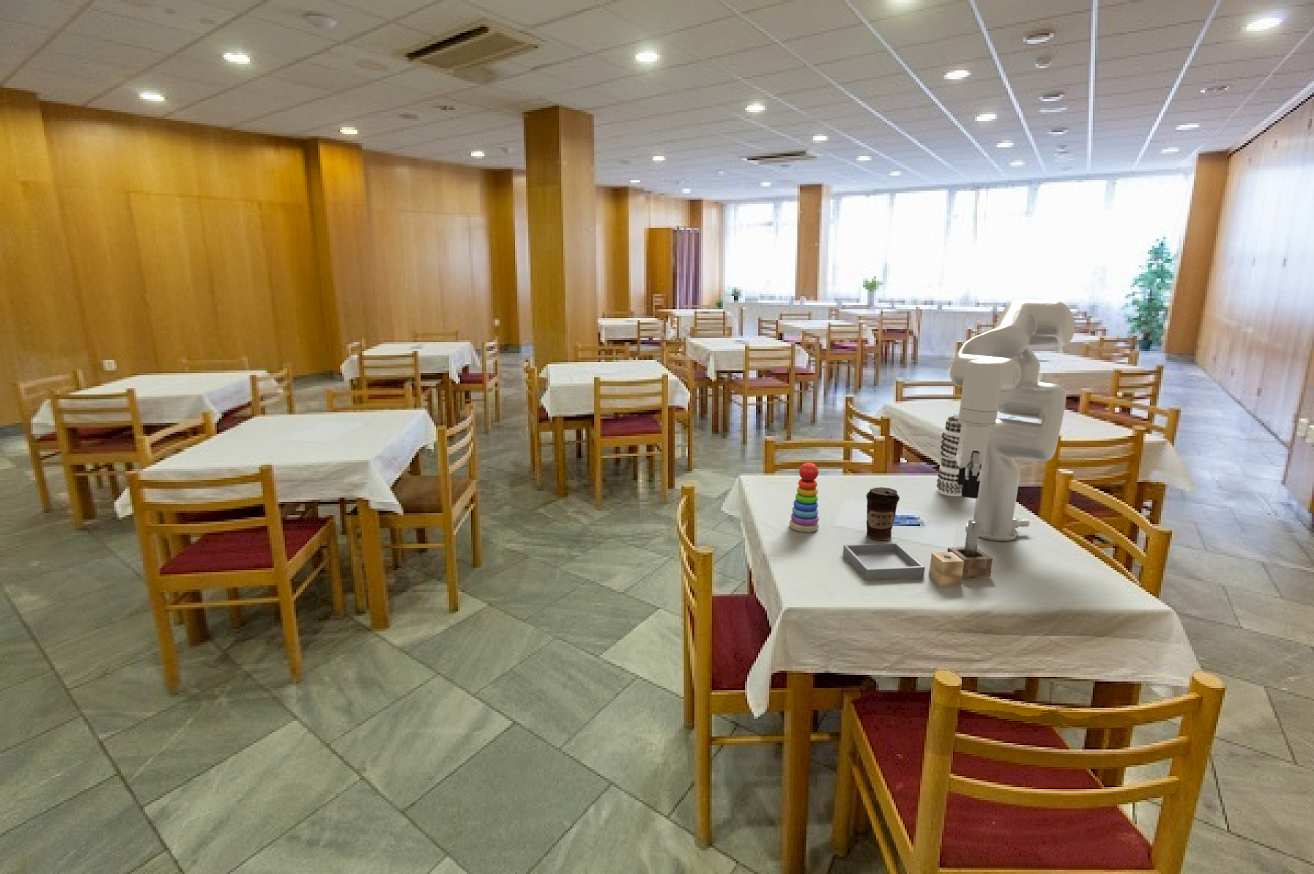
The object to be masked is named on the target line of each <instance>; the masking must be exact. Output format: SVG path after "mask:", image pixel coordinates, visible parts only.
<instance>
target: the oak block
mask: <svg viewBox="0 0 1314 874" xmlns="http://www.w3.org/2000/svg"><path fill="white" fill-rule="evenodd" d="M963 565H964V561H963V560H962V559H960V558H959V557H958V556H957V555H955V554H954V553H953V552H947V551H946V552H943V551H942V552H931V556H930V564H929V571H928V577H929V578H930V579H931V580H933V582H935V584H937V585H938V587H952V586H953V587H954V586H956V587H957V586H961V585H962V580H963V579H962V573H963Z"/></svg>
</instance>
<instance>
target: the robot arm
mask: <svg viewBox="0 0 1314 874" xmlns="http://www.w3.org/2000/svg"><path fill="white" fill-rule="evenodd" d="M1075 329H1076V323H1075V318H1074V315H1073V314H1072V312H1071V309H1070V308H1069V306H1068V305H1067V304H1065V303H1063V302H1062V301H1057V300H1041V299H1040V300H1037V299H1018V300H1014V301H1011V302H1010V303H1008V304H1007V305H1006V306H1005V307H1004V309H1003V310H1002V312H1001V314H1000V315H999V317H998V319H997V320H996V323H995V325H994V327H993V329H990V330H989V331H985V332H983V333H981V334H978V335H976V336H973V337H972V338H970V339H968V340H967V341H965V342H964V343H963V344H962V345H961V347H960V348H959V350H958V351H957V353H956V355H955V357H954V359H953V361H952V363H951V366H950V369H949V378H950V380H951V382H952V383H953V384H954V386H957V387H960V388H961V399H960V406H959V410H958V411H959V413H958V415H959V418H958V422H960V423H962V426H961V431H960V437H959V443H958V449H957V454H956V461H957V464H958V466H959V467H960V468H959V475H958V482H957V483H958V485H963V488H962V496H961V497H963V498H968V499H975V504H974V512H973V518H972V520H976V521H979V522H980V523H981V524H980V531H979V538H981V539H985V540H990V541H996V542H1007V541H1008V542H1010V541H1013V540H1015V539H1017V538H1018V531H1017V529H1018V528H1019V527H1020V528H1024V527H1025V528H1027V527H1029V526H1030V521H1029V520H1028V519H1019V517H1017V516H1015V517H1014V515H1015V509H1016V503H1017V497H1018V489H1019V483H1020V477H1021V474H1020V473H1021V472H1020V469H1019V467H1018V465H1017V463H1016V461H1015V460H1014V458H1018V459H1019V458H1020V459H1025V460H1031V461H1037V462H1047V461H1050V460H1051V459H1052V458H1053V457H1054V455H1055V453H1056V451H1057V445H1058V442H1059V437H1060V432H1061V428H1062V424H1063V419H1064V415H1065V410H1066V409H1065V408H1066V404H1067V395H1066V390H1065V389H1064V388H1063V387H1062V386H1061V385H1059V384H1057V383H1056V384H1055V383H1049V382H1048V383H1047V382H1041V381H1038V378H1039V372H1040V369H1041V365H1040V360H1039V359H1038V357H1037V356H1036V354H1035V353H1034V352H1033V351H1032V350H1031V348H1030V347H1029V346H1039V347H1040V346H1043V347H1054V348H1055V347H1057V348H1061V347H1065V346H1067V345H1068V344H1070V343H1071V341H1072V339H1073V337H1074V335H1075ZM998 413H1001V414H1003V415H1006V416H1012V417H1019V418H1025V419H1026V418H1027V419H1034V420H1039V421H1040V422H1041V423H1040V422H1032V421H1023V420H1018V419H1012V418H1011V419H1010V418H1002V417H1000V418H998ZM967 527H968V522H967V523H966V524H965V529H966V531H967Z"/></svg>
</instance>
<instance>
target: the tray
mask: <svg viewBox="0 0 1314 874" xmlns="http://www.w3.org/2000/svg"><path fill="white" fill-rule="evenodd" d="M842 547H843V548H842V549H843V550H842V556H844V557H845V558H846V560H847V561H848V562H849V563H850V565H852V566H853V567H854V569H856V570H857V572H858V573H859V574H860V575H861V576H862V578H863V579H864V580H865V581H873V580H872V579H878V580H896V579H916V578H917V579H918V578H924V577H925V571H926V567H925V566H924V565H923V564H922V563H921V562H919V561H918V560H917V559H916V558H915V557H914V556H913V555H912V554H910V552H908V551H907V549H905V548H904V547H903V546H901V545H900V544H899V543H898V542H887V543H886V542H883V543H881V542H880V543H860V544H859V543H858V544H857V543H855V544H843V546H842Z"/></svg>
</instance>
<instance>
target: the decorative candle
mask: <svg viewBox="0 0 1314 874" xmlns="http://www.w3.org/2000/svg"><path fill="white" fill-rule="evenodd" d="M958 418H959V414H952V415H949V416H948V418H945V419H944V420H945V428H944V431H943V432H942V433H941V439H942V440H941V441H940V443H941V445H940V449H941V450H940V457H941V461H940V462H941V463H940V464H939V465H940V466H939V469H938V474H937V479H936V490H935V491H936V492H937V493H938V494H940V495H943V496H947V497H948V496H949V497H962V488H963V485H958V483H957V482H958V475H959V468H960V467H959V466H958V464H957V461H956V454H957V449H958V443H959V437H960V431H961V426H962V423H960V422H958Z"/></svg>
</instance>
